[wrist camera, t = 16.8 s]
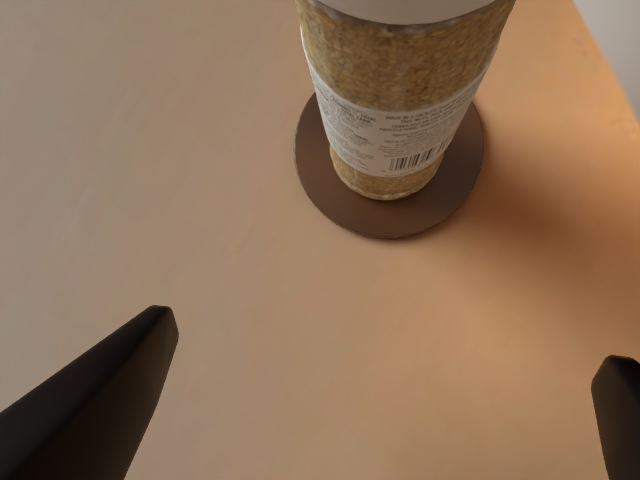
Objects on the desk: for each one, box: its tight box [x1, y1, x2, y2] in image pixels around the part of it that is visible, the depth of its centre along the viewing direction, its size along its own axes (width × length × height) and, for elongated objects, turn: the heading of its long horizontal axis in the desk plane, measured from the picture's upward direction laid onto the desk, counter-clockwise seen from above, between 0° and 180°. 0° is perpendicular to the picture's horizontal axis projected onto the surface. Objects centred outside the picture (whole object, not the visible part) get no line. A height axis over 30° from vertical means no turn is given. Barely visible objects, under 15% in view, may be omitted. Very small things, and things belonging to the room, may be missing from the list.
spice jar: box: [294, 0, 516, 200], centre depth 11 cm, size 5×5×13 cm
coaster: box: [294, 92, 483, 238], centre depth 18 cm, size 8×8×1 cm
